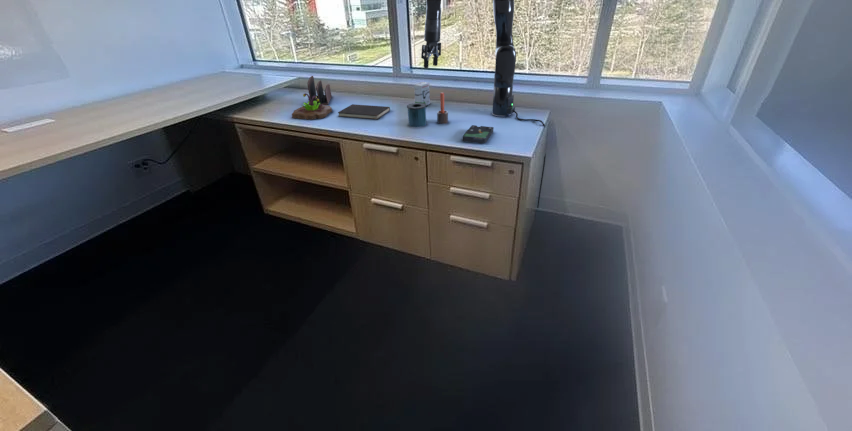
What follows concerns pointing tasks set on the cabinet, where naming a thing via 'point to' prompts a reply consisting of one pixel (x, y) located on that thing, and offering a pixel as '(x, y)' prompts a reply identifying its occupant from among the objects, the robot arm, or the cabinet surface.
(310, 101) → the plant
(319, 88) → the letter holder
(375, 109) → the hardcover book
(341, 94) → the cabinet surface
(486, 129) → the disk drive
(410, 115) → the tumbler
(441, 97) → the straw
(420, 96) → the ink box
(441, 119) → the straw holder
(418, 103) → the tumbler lid
